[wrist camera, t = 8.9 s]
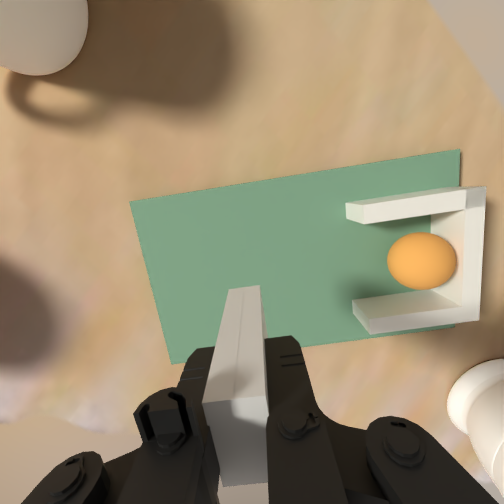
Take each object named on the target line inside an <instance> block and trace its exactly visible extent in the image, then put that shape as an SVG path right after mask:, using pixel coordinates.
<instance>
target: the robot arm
mask: <svg viewBox="0 0 504 504" xmlns="http://www.w3.org/2000/svg"><path fill="white" fill-rule="evenodd" d="M133 415H134V418H135V421H136V424H137V427H138V429H139V432H140V435H141V438H142V441H143V443H142V445H141V447H140V448H138V449H136V450H134V451H132V452H130V453H127V454H125V455H123V456H120V457H118V458H116V459H113V460H111V461H109V462H106V463H103V461H102V458H101V456H100V455H99V454H97V453H95V452H94V451H91V452H82V453H79V454H77V455H74V456H72V457H70V458H68V459H67V460H65V461H64V462H62V463H61V464H59V465H57V466H56V467H55V468H54V469H53V470H52V471H51V472H50V473H49V474H48V475H47V476H46V477H45V478H43V480H42V481H41V482H40V483H39V484H38V485H37V486H36V487H35V488H34V490H33V491H32V492H31V493H30V494H29V495H28V496H27V497H26V499H25V500H24V501H23V502H22V503H21V504H220V503H219V499H218V496H217V492H218V484H219V475H220V476H221V480H222V484H223V487H227V486H237V485H247V484H256V483H266V482H268V492H269V504H499V503H497V501H496V500H495V499H494V498H493V497H492V496H491V495H490V494H489V493H488V492H487V491H486V490H485V489H484V488H483V487H482V486H481V485H480V484H479V483H478V482H477V481H476V480H475V479H474V478H473V477H472V476H471V475H470V474H469V473H468V472H467V471H466V470H465V469H464V468H463V467H462V466H461V465H460V464H459V463H458V462H457V461H456V460H455V459H454V458H453V457H452V456H451V455H450V454H449V453H448V452H447V451H446V450H445V449H444V448H443V447H442V446H441V445H440V444H439V443H438V441H437V440H436V439H435V438H434V437H433V436H432V435H430V434H429V433H428V432H427V431H425V430H424V429H423V428H422V427H420V426H419V425H418V424H415V423H413V422H411V421H409V420H407V419H405V418H399V417H394V416H387V417H380V418H378V419H376V420H375V421H373V422H371V423H370V424H369V426H368V429H367V430H363V429H358V428H353V427H348V426H345V425H341V424H338V423H336V422H334V421H333V420H331V419H329V418H328V417H327V416H326V415H324V414H323V412H322V411H321V410H320V409H319V407H318V405H317V403H316V400H315V397H314V393H313V390H312V386H311V382H310V379H309V375H308V372H307V368H306V365H305V361H304V357H303V354H302V350H301V347H300V343H299V342H298V341H297V340H296V339H295V338H294V337H293V336H292V335H289V336H281V337H274V338H268V334H267V328H266V321H265V315H264V309H263V302H262V296H261V290H260V285H256V286H249V287H242V288H235V289H229V291H228V295H227V299H226V303H225V308H224V312H223V316H222V320H221V324H220V329H219V333H218V337H217V341H216V345H215V346H212V347H204V348H197V349H196V350H195V351H194V352H193V353H192V354H191V355H190V356H189V358H188V359H187V362H186V364H185V367H184V372H182V375H181V377H180V381H179V383H178V385H177V387H171V388H167V389H163V390H160V391H158V392H156V393H154V394H152V395H151V396H149V397H148V398H147V399H146V400H144V401H143V402H142V403H141V404H140V405H139V406H138V408H137V409H136V411H135V412H134V413H133Z"/></svg>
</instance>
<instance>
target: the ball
mask: <svg viewBox="0 0 504 504" xmlns="http://www.w3.org/2000/svg"><path fill="white" fill-rule="evenodd" d="M387 265H388V269H389V271H390V273H391V275H392V276H393V277H394V278H395V279H396V280H397V281H398V282H399V283H400V284H402V285H404V286H406V287H408V288H412V289H417V290H428V289H433V288H436V287H438V286H440V285H442V284H444V283H445V282H446V281H447V280H448V279H449V278H450V277H451V276H452V274H453V272H454V270H455V267H456V256H455V253H454V251H453V249H452V247H451V246H450V245H449V244H448V242H447V241H445V240H444V239H443V238H441V237H439V236H437V235H435V234H431V233H426V232H416V233H410V234H407V235H405V236H403V237H401V238H399V239H398V240H397V241H396V242H395V243H394V244H393V245H392V246H391V248H390V250H389V252H388V256H387Z"/></svg>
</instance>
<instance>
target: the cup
mask: <svg viewBox="0 0 504 504" xmlns="http://www.w3.org/2000/svg"><path fill="white" fill-rule="evenodd" d="M87 29H88V4H87V0H0V66H2V67H4V68H6V69H9V70H11V71H14V72H17V73H21V74H26V75H36V76H37V75H48V74H52V73H55V72H57V71H59V70H61V69H63V68H65V67H66V66H68V65H69V64H70V63H71V62H72V61H73V60H74V59H75V58H76V57H77V55H78V54H79V52H80V50H81V48H82V46H83V44H84V41H85V38H86V35H87Z"/></svg>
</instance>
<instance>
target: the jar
mask: <svg viewBox="0 0 504 504" xmlns="http://www.w3.org/2000/svg"><path fill="white" fill-rule="evenodd" d="M447 411H448V414H449V417H450V419H451V421H452V422H453V424H454V425H455V426H456V427H457V428H458V429H459V430H461V431H462V432H464V433H465V434H467V435H469V438H470V440H471V443H472V446H473V448H474V450H475V452H476V455H477V456H478V458H479V460H480V462H481V464H482V465H483V467H484V469H485V470H486V472H487V473H488V475H489V476H490V478H491V479H492V481H493V482H494V484H495V485H496V486H497V487H498V489H499V491H500V492H501V494H502V496H503V498H504V359H495V360H490V361H487V362H484V363H481V364H478V365H476V366H475V367H473V368H471V369H469V370H468V371H467V372H465V373H464V374H463V375H462V376H461V377H460V378H459V379H458V380H457V381H456V382H455V384H454V385H453V387H452V388H451V390H450V393H449V395H448V400H447Z"/></svg>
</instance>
